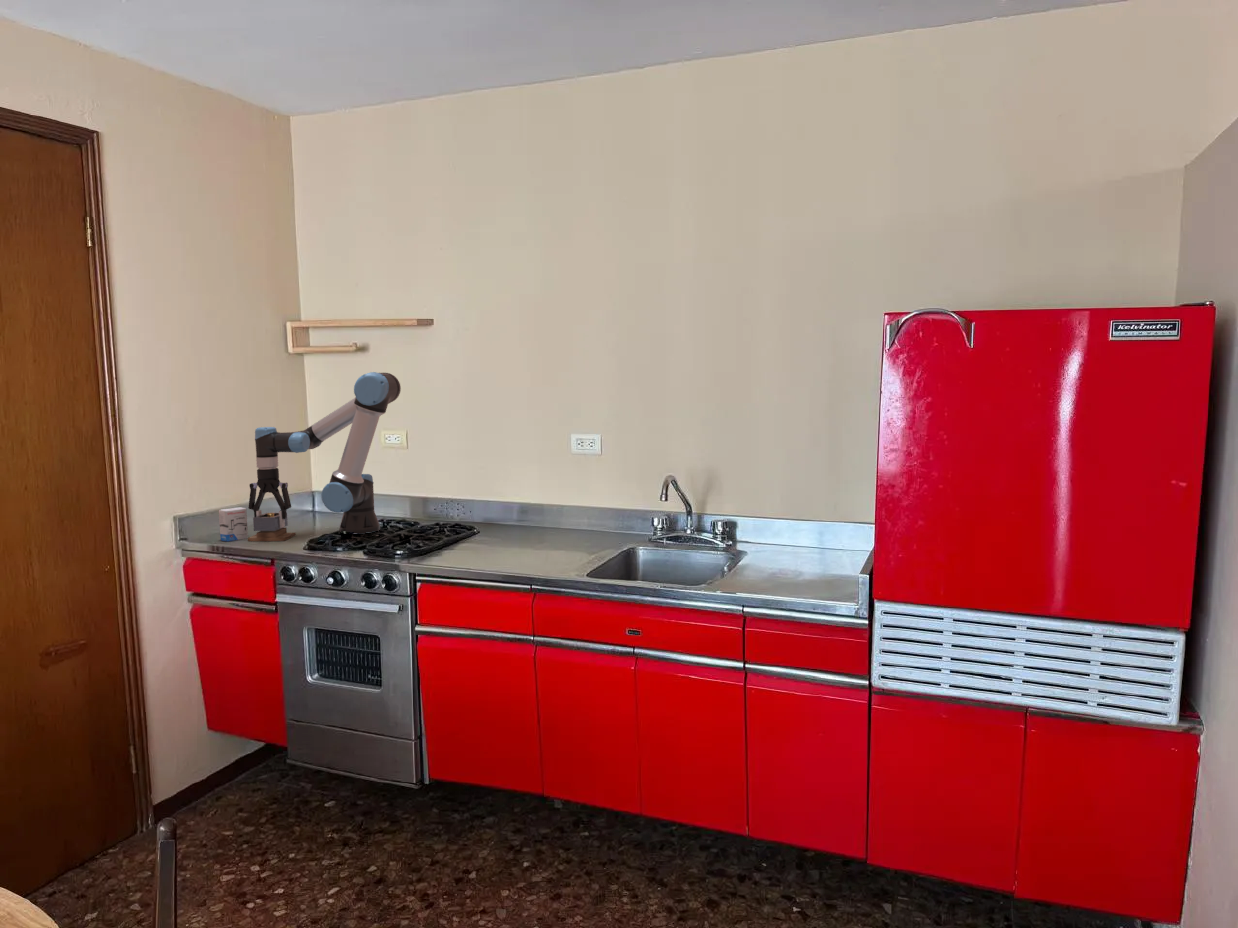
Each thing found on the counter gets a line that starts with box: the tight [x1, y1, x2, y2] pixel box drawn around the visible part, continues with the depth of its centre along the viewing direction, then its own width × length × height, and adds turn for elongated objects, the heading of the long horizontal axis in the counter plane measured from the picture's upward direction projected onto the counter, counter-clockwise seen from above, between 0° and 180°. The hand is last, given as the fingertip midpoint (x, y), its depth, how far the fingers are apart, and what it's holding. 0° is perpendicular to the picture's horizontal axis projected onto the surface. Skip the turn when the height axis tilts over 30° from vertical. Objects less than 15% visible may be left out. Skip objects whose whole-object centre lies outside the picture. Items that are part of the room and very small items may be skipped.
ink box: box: [218, 506, 249, 543], centre depth 309 cm, size 9×5×12 cm, turn 143°
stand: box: [247, 527, 297, 542], centre depth 310 cm, size 14×10×3 cm
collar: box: [252, 512, 289, 532], centre depth 310 cm, size 8×11×5 cm
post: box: [266, 512, 275, 517], centre depth 310 cm, size 2×3×6 cm
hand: (271, 527), depth 310 cm, fingers closed on collar, 8 cm apart
